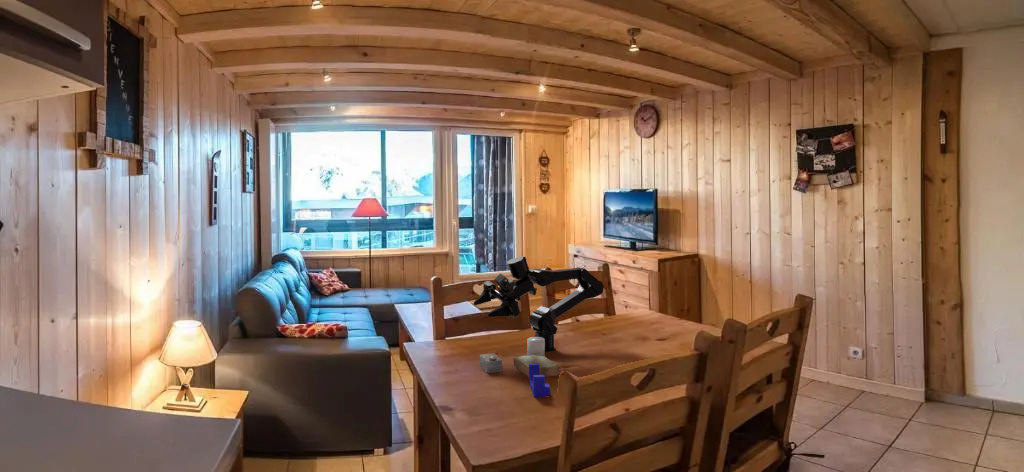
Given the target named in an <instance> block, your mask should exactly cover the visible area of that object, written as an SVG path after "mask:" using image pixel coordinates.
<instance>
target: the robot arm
mask: <svg viewBox="0 0 1024 472" xmlns="http://www.w3.org/2000/svg"><path fill="white" fill-rule="evenodd" d="M506 263H507V266H508V269H509V272H510V274H511V277H512V278H514V279H516V281H514V279H511V278H510V279H509V278H507V277H506V276H505V275H503V274H502V273H500V272H499V274H498V275H497V276H495V278H494V279H493V280H494V282H495V283H496V284H497V286H496V284H495V283H493V282H492V281H491V280H490V281H489V280H487V281H484V282H483V285H482V287H483V290H482V292H481V294H480V295H479V296H478V297H477V298H476V299H475V300H474V302H473V304H474V306H478V305H481V304H486V303H489V302H492V300H495V299H497V300H498V301H500V303H501V304H500V305H498V306H497V307H495V308H494V309H493V310H491V311H490V312H488V313H487V317H488V318H491V317H494V318H495V317H509V318H513V319H515V318H517V317H518V316H519V315H520V313H521V310H520V305H519V301H521V297H523V296H524V295H526V294H529V295H532V296H536V294H537V290H538V288H537V287H535V285H536V286H539V287H546V286H548V285H552V284H553V283H555V282H561V281H571V280H577V283H578V284H579V285H578V287H577V289H576V290H575V291H573V292H571V293H570V294H569V295H567V296H565V297H564V298H562V299H561V300H559V301H557V302H555V303H554V304H552V305H551V306H550V307H545V306H542V305H541V306H539V307H538V308H537V309H535V310H532V313H531V314H530V315H529V320H528V322H529V325H530V326H531V327H532V330H533V331H534V336H533V337H542V338H544V339H545V352H548V351H555V350H557V348H556V347H555V335H556V334H557V331H558V327H557V326H555V325H556V324H555V323H556V322H557V321H556V320H557V319H558V318H559V317H561V316H562V315H564V314H566V313H567V312H568V311H570V310H571V309H573V308H574V307H575V306H578V305H580V303H582V302H584V301H586V300H589V299H594V298H597V297H598V296H601V295H602V294H603V292H604V287H605V286H604V284H603V282H602V281H600V280H599V279H598V278H596V276H594V275H593V274H591V273H590V272H589V271H588V270H587V269H586V268H584V267H578V266H576V267H574V268H573V267H571V268H562V269H554V270H553V269H552V270H551V269H550V270H549V269H541V268H532V269H530V267H529V264H528V262H527V258H526V256H524V255H522V256H518V257H515V258H511V259H509V260H507V262H506Z"/></svg>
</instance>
